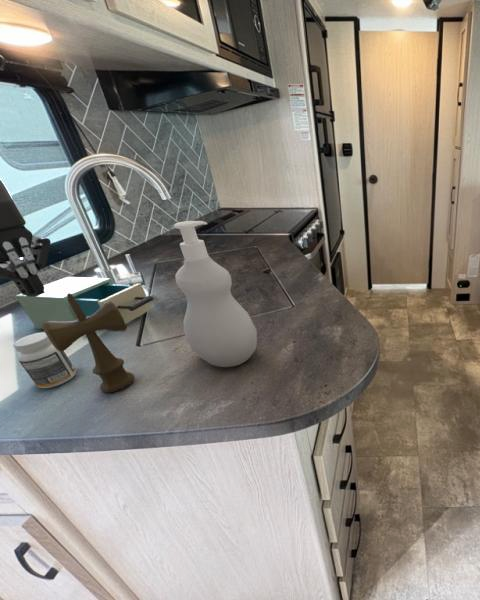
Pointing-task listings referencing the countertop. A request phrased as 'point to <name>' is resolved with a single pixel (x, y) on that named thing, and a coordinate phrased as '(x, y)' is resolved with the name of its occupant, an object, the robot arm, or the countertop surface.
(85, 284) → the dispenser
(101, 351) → the kendama
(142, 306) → the drawer
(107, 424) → the countertop surface
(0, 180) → the robot arm
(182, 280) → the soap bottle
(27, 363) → the pill bottle
